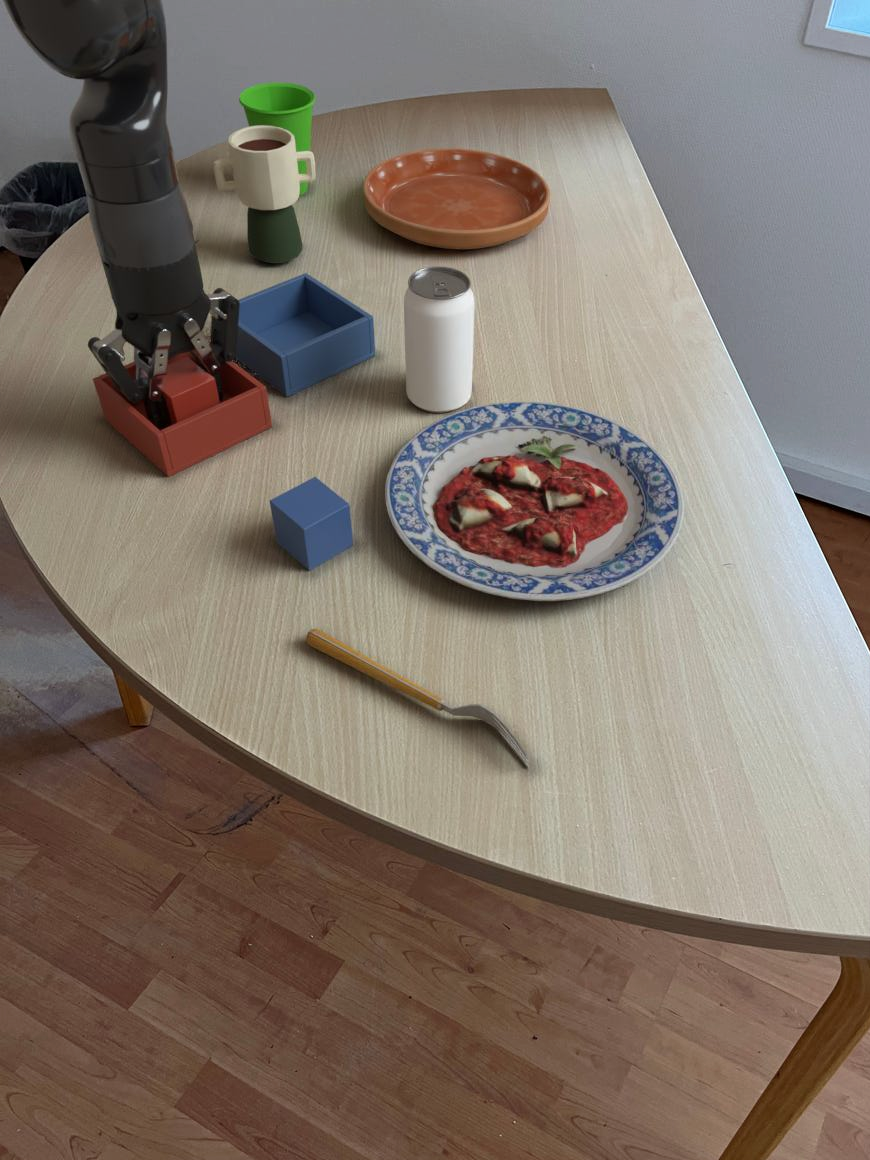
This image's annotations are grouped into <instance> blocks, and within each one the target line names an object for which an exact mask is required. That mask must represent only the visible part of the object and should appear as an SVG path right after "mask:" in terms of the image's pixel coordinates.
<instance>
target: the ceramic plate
mask: <svg viewBox="0 0 870 1160" xmlns="http://www.w3.org/2000/svg"><path fill="white" fill-rule="evenodd" d="M384 487H385V488H384V497H385V499H384V500H385V506H386V511H387V514H388V517H389V519H390V522H391V525H392V527H393V529H394V531H395V532H396V534H397V536H398V538H400V539H401V541H402V542H403V544H404V545H405V546H406V547H407V548H408V550H410V551H411V553H412V554H413V555H414V556H415V557H416V558H418V559H419V560H420V561H422V562H423V563H424V564H425V565H426V566H427V567H429V568H431V569H432V570H434V571H436V572H437V573H439V574H441V575H442V576H444V577H445V578H447V579H449V580H452V581H453V582H455V583H458V584H460V585H462V586H464V587H467V588H469V589H472V590H476V591H479V592H482V593H485V594H490V595H494V596H499V597H502V598H508V599H513V600H522V601H523V600H525V601H533V602H534V601H535V602H556V601H570V600H578V599H584V598H589V597H593V596H598V595H602V594H604V593H608V592H611V591H614V590H616V589H618V588H621V587H623V586H626V585H628V584H630V583H632V582H634V581H635V580H638V579H639V578H641V577H642V576H644V575H646V574H647V573H649V572H650V571H651V570H652V569H653V568H655V566H657V565H658V564H660V562H661V561H662V560H663V559H664V558H665V557H666V556H667V554H669V552H670V550H671V549H672V548H673V546H674V544H675V543H676V541H677V539H678V537H679V536H680V535H679V534H680V532H681V529H682V526H683V521H684V516H685V503H684V502H685V501H684V494H683V490H682V487H681V484H680V482H679V480H678V477H677V475H676V473H675V472H674V469H673V468H672V466H671V465H670V463H669V462H668V461H667V459H666V458H664V457H663V455H662V454H661V453H660V451H658V449H656V448H655V447H654V446H653V445H652V444H651V443H650V442H649V441H648V440H646V439H645V438H643V437H642V436H640V435H639V434H637V433H636V432H634V431H633V430H632V429H630V428H628V427H626V426H624V425H622V424H621V423H619V422H617V421H615V420H613V419H610V418H608V417H605V416H603V415H600V414H598V413H595V412H591V411H589V410H586V409H583V408H579V407H574V406H568V405H563V404H557V403H553V402H542V401H531V400H528V401H507V402H506V401H505V402H504V401H503V402H495V403H494V402H493V403H487V404H483V405H479V406H474V407H470V408H465V409H463V410H460V411H457V412H454V413H451V414H449V415H446V416H443V417H441V418H440V419H437V420H436V421H434V422H432V423H431V424H429V425H427V426H426V427H424V428H423V429H421V430H420V431H419V432H417V433H416V434H415V435H414V436H412V437H411V438H410V439H409V440H408V441H407V442H406V443H405V445H403V446H402V447H401V448H400V450H399V451H398V452H397V454H396V456H395V457H394V459H393V461H392V463H391V465H390V467H389V470H388V472H387V476H386V480H385V485H384Z"/></svg>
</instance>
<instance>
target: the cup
mask: <svg viewBox="0 0 870 1160" xmlns="http://www.w3.org/2000/svg"><path fill="white" fill-rule="evenodd" d="M238 102H239V104H240V105H241V106H242V107H243V110H244V114H245V116H246V120H247V124H248V127H250V126H259V125H265V126H274V127H280V128H283V129H285V130H288V131H289V132H291V133H292V134H293V135H294V138H295V145H296V152H302V151H310V152H311V142H312V122H313V105H314V104H315V102H316V95H315V93H314V92H313V90H311V89H310V88H309V87H306V86H303V85H300V84H296V83H289V82H267V83H266V82H265V83H259V84H256V85H253V86H250V87H248V88H246V89H244V90H243V91H242V92H241V93H240V95H239V97H238ZM297 164H298V173H299V174H304V173H307V169H306V161H297ZM308 188H309V182H305V183H300V194H299V197H300V196H302V195H304V194H305V193H307V190H308Z"/></svg>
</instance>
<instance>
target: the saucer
mask: <svg viewBox="0 0 870 1160" xmlns="http://www.w3.org/2000/svg"><path fill="white" fill-rule="evenodd" d="M362 185H363V187H362V191H363V193H362V194H363V202H364V206H365V209H366V211H367V213H368V215H370V217H371V218H372V219H373V220H374V221H375V222H376V223H378V224H379V225H380V226H381V227H383V228H385V229H387V230H389V231H390V232H392V233H394V234H396V235H398V236H400V237H402V238H404V239H406V240H409V241H412V242H413V243H416V244H421V245H425V246H429V247H434V248H439V249H449V250H475V249H484V248H489V247H496V246H499V245H503V244H506V243H509V242H511V241H513V240H515V239H518V238H520V237H523V236H524V235H527V234H528V233H530V232H532V231H533V230H535V229H536V228H538V227H539V226H540V225H541V224H542V223H543V222H544V221H545V220H546V218H547V216H548V212H549V207H550V203H551V201H550V200H551V190H550V187H549V185H548V183H547V181H546V180H545V179H544V178H543V176H541V175H540V173H538V172H537V170H536V171H535V170H534V169H533V168H531V167H529V166H528V165H526V164H525V163H522V162H520V161H519V160H516V159H513V158H511V157H507V156H504V155H502V154H501V155H500V154H498V153H493V152H490V151H484V150H478V149H472V148H471V149H469V148H457V147H443V148H442V147H441V148H439V147H438V148H428V149H419V150H413V151H408V152H404V153H402V154H398V155H395V156H392V157H390V158H388V159H386V160H383V161H381V162H380V163H378V164H377V165H375V166H374V167H373V168H372V169H371V170H370V171H369V172H368V173H367V174H366V176H365V178H364V181H363V184H362Z"/></svg>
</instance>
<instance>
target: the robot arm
mask: <svg viewBox="0 0 870 1160" xmlns="http://www.w3.org/2000/svg"><path fill="white" fill-rule="evenodd" d="M2 2H3V4H4V7H5V9H6V11H7V13H8V15H9V18H10V19H11V22H12V23H13V25H14V27H15V29H16V30H17V31H18V33H19V35H20V37H21V38H22V39H23V41H24V42H25V43H26V44H27V46H28V47H29V49H31V51H32V52H33V53H34V54H35V55H36V56H37V57H38V59H40V60H41V61H42V62H43V63H44V64H46V65H47V66H48V67H49V68H51V70H53V71H55V72H57V73H59V74H60V75H61V76H64V77H67V78H70V79H73V80H82V81H83V84H82V89H81V91H80V94H79V96H78V97H77V99H76V101H75V103H74V104H73V106H72V108H71V110H70V113H69V117H68V128H69V134H70V135H69V136H70V139H71V143H72V147H73V152H74V154H75V158H76V161H77V162H76V163H77V166H78V169H79V173H80V176H81V180H82V184H83V187H84V191H85V194H86V200H87V208H88V215H89V219H90V224H91V228H92V230H93V235H94V238H95V242H96V243H95V244H96V246H97V249H98V252H99V257H100V260H101V263H102V267H103V271H104V274H105V278H106V281H107V282H106V283H107V286H108V288H109V292H110V296H111V299H112V302H113V305H114V307H115V310H116V319H115V321H114V328H115V329H114V330H113V331H111V332H110V333H108V334H107V335H106V336H104V337H103V338H99V337H97V336H93V337H91V338H89V340H88V342H87V348H88V349H89V351H90V352H91V353H92V355H93V356H94V358H95V359H96V361H97V362H98V364H99V365H100V367H101V368H102V370H103V371H104V373H106V374H107V375H108V377H109V378H110V380H111V381H112V383H113V384H114V386H115V387H116V388H117V390H119V391H120V392H121V393H123V394H124V395H125V396H126V397H127V398H128V399H129V400H130V401H131V402H133V403H138V402H140V401H141V400H143V403H144V407H145V410H146V413H147V418H148V419H149V421H150V422H151V423H152V424H154V425H155V426H156V427H157V428H158V429H160V428H161V429H165V428H167V427H169V426H171V425H172V424H171V420H170V416H169V412H168V408H167V404H166V400H165V398H164V397H163V396H162V387H163V377H165V376H166V375H167V363H168V360H170V359H172V358H173V357H174V356H176V355H177V354H180V353H187V352H189V353H190V354H191V356H192V357H193V359H194V360H195V362H196V363H197V364H198V366H200V367H201V368H202V369H204V370H205V371H206V372H207V373H209V374H210V375H211V376H212V377H214V378H215V382H216V387H217V391H218V396H219V401H221V400H223V390H222V386H221V380H220V375H219V372H220V367H221V366H222V365H223V364H224V363H225V362H226V361H227V362H231V361H233V362H234V360H235V359H236V358H235V357H236V346H237V333H238V320H239V307H240V303H239V301H238V300H239V299H238V298H236V297H235V296H233V295H232V294H231V293H229V292H228V291H226V290H225V289H223V287H218V288H215V289H214V290H213V293H206V292H205V290H204V281H203V277H202V275H203V274H202V270H201V266H200V261H199V256H198V255H199V254H198V250H197V245H196V241H195V236H194V228H193V227H194V226H193V221H192V219H191V216H190V211H189V207H188V204H187V201H186V197H185V195H184V191H183V189H182V186H181V182H180V178H179V173H178V169H177V164H176V158H175V154H174V147H173V144H172V139H171V134H170V132H169V127H168V123H167V122H168V121H167V112H168V111H167V110H168V108H167V107H168V91H169V90H168V88H169V87H168V85H169V84H168V38H167V24H166V23H167V22H166V16H165V11H164V10H165V9H164V4H163V0H2ZM209 315H211V319H210V320H211V321H210V339H209V342H208V340H207V339H206V337H205V336H204V334H203V330H204V327H205V325H206V322H207V319H208V316H209ZM126 343H128V344H129V345H131V346H132V347H133V362H135V364H136V380H133V379H132V377H131V376H130V374H129V373H128V371H127V370H126V368H125V364H124V363H123V362H124V361H125V360H126V357H125V354H126V353H125V351H124V346H125V344H126ZM208 343H209V344H210V345H209V344H208Z"/></svg>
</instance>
